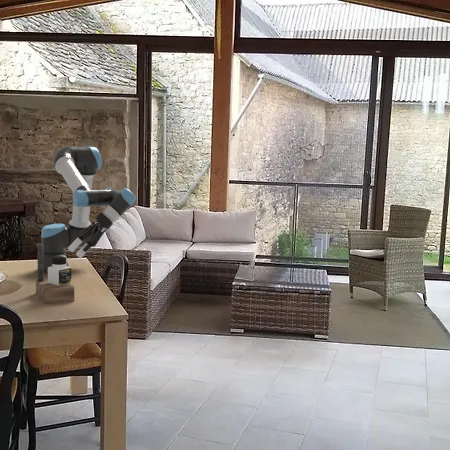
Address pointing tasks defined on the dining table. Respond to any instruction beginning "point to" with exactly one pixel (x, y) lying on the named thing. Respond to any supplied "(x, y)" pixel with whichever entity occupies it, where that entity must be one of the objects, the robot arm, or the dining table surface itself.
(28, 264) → the dining table surface
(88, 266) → the dining table surface
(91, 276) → the dining table surface
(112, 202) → the robot arm
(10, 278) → the dining table surface
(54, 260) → the medicine bottle
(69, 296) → the wooden stand
